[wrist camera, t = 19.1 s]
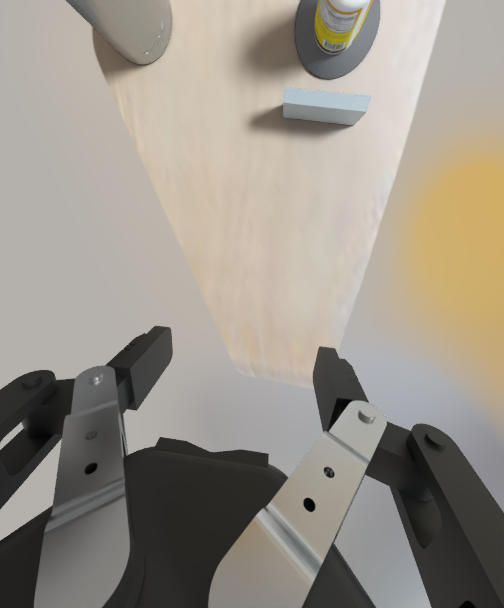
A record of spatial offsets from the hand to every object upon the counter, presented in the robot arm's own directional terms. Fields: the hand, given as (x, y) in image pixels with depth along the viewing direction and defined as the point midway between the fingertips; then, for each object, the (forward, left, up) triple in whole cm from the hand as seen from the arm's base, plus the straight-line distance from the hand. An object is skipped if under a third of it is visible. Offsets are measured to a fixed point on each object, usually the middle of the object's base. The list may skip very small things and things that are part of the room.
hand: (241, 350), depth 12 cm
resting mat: (-16, +24, -30) cm, 42 cm away
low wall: (-10, +17, -30) cm, 36 cm away
